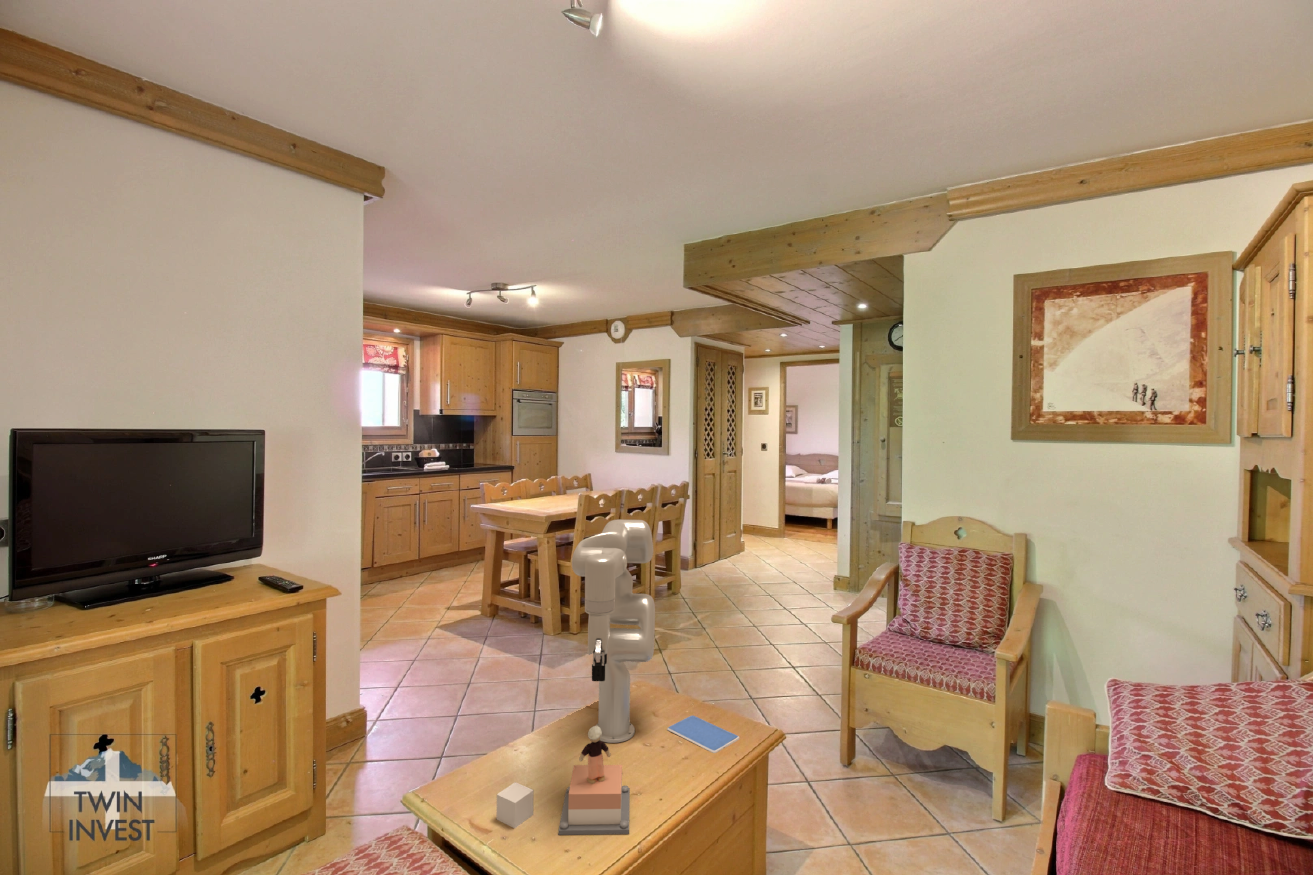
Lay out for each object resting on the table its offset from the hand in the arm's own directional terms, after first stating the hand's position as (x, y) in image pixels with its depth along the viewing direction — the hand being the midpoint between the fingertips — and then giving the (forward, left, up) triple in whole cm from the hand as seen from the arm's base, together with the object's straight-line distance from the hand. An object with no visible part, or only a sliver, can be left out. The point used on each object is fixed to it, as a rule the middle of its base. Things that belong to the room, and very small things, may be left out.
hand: (599, 671), depth 149 cm
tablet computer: (-30, +30, -32) cm, 53 cm away
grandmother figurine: (+7, -1, -23) cm, 24 cm away
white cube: (+8, -19, -31) cm, 38 cm away
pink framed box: (+7, 0, -31) cm, 32 cm away
